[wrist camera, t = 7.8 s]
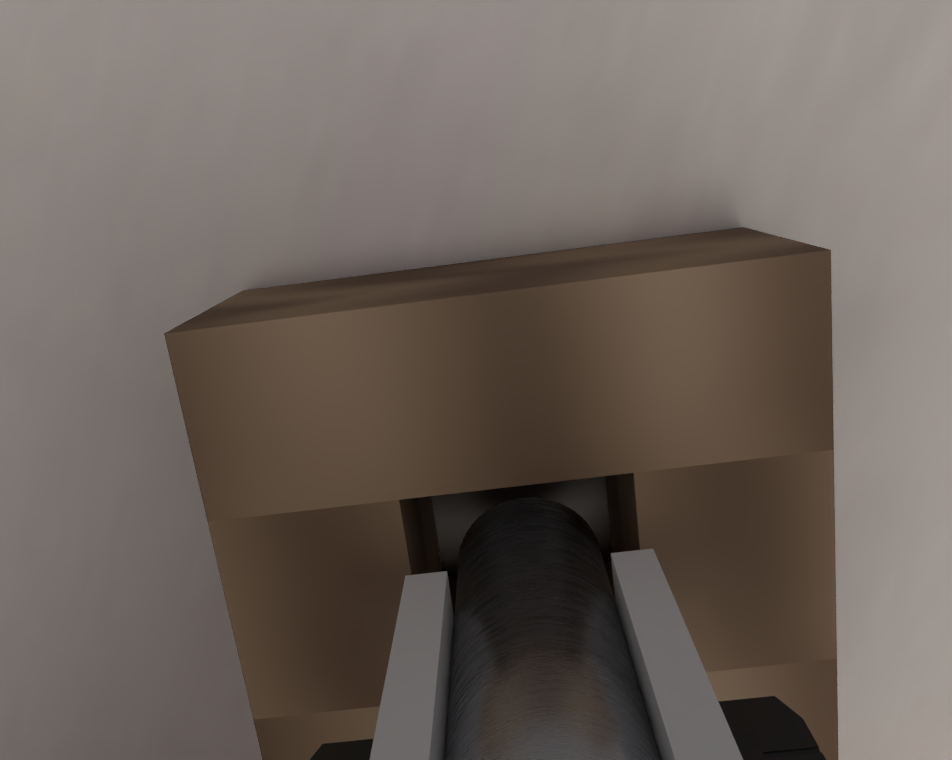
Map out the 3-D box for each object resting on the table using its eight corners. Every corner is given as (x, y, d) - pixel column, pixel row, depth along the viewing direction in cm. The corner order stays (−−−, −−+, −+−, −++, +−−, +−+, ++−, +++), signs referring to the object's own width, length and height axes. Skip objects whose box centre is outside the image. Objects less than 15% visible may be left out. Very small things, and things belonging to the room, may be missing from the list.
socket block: (328, 715, 23) (287, 864, 18) (242, 290, 20) (164, 333, 15) (762, 670, 22) (838, 811, 17) (743, 227, 19) (830, 249, 14)
